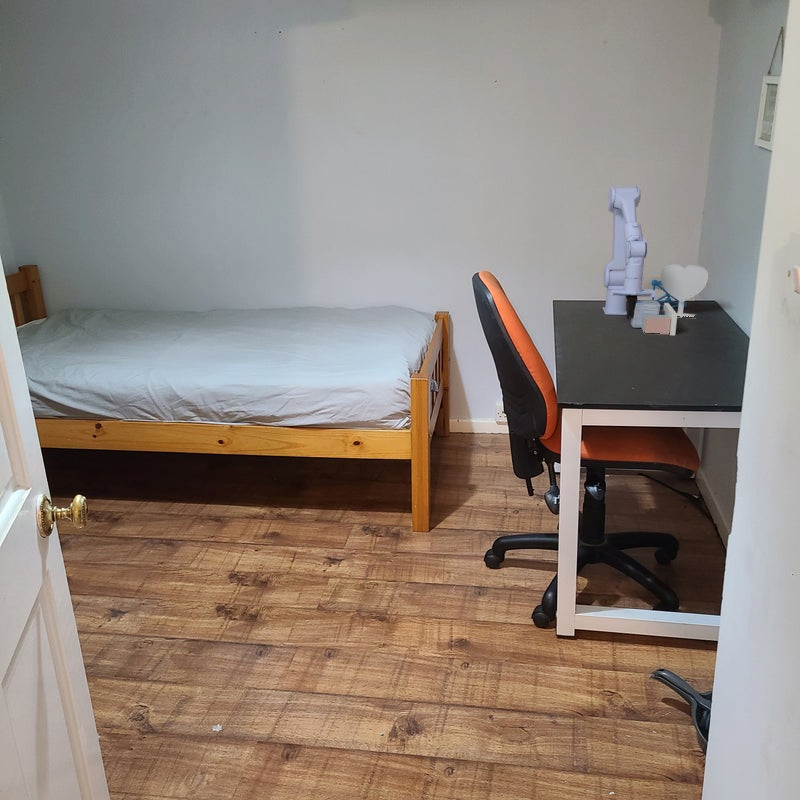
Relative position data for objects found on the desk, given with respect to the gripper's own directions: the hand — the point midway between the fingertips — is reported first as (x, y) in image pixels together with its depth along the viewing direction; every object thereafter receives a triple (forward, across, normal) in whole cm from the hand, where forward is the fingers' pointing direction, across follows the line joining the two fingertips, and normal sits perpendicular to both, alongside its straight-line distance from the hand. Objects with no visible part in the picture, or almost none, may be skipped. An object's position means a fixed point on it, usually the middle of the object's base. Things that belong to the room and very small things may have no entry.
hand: (630, 317), depth 271 cm
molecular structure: (+3, +18, +31) cm, 35 cm away
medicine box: (+3, +5, 0) cm, 6 cm away
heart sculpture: (+3, +20, +18) cm, 27 cm away
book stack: (+3, +8, -1) cm, 9 cm away
